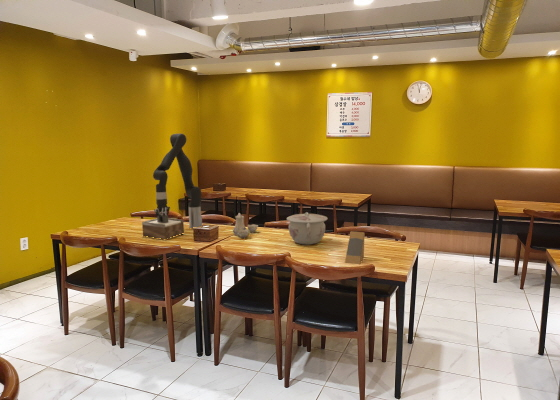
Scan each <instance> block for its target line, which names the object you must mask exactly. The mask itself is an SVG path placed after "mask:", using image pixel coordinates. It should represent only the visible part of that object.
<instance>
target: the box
mask: <svg viewBox="0 0 560 400" xmlns="http://www.w3.org/2000/svg"><path fill="white" fill-rule="evenodd" d="M156 220H157V218H154V219H149V220H145V221H142V222H141V225H142V237H143V236H148V237H154V238H161V239H167V238H170V237H173V236H176V235H179V234H182V233H184V234H185V228H184V227H185V226H184V219H178V218H169V217H168V220H174V221H181V223H178V224H175V225H171V226H167V227H165V224H157V223H149V222H151V221H156ZM148 237H147V238H148ZM154 238H153V239H154ZM161 239H160V240H161ZM167 240H168V239H167Z"/></svg>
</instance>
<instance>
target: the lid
mask: <svg viewBox="0 0 560 400" xmlns="http://www.w3.org/2000/svg"><path fill="white" fill-rule="evenodd" d="M168 218H169V215H163V214H162V222H160V221H159V217H158V216H156V219H157V220H156V221H151V222H149V223H157V224H165V227H167V226H171V225H175V224H178V223H181V221H174V220H168Z"/></svg>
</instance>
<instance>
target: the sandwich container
mask: <svg viewBox="0 0 560 400" xmlns="http://www.w3.org/2000/svg"><path fill="white" fill-rule="evenodd" d="M365 237H366V236H365V232H363V231H350V232H349V237H348V239H349V240H348V244H347V250H346V254H345V255H346V256H345V261H344V263H345V264H350V265H351V264H353V265H360V264H361V263H362V261H363V259H364V257H365Z"/></svg>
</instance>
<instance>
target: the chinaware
mask: <svg viewBox="0 0 560 400" xmlns="http://www.w3.org/2000/svg"><path fill="white" fill-rule="evenodd" d="M244 218H245V216H244V215H242V214H241V213H240V212H238V214H237V215H235V224H234V227H233V229H232V232H233V234H234V236H236V237H238V238H240V239H246V238H247V237H248V236H249V232H250V233H252V234H254V233H255V232H257V229H258V227H259V225H258V224H253V223H252V224H247V226H246V225H245V223H244V222H245V221H244Z"/></svg>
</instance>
